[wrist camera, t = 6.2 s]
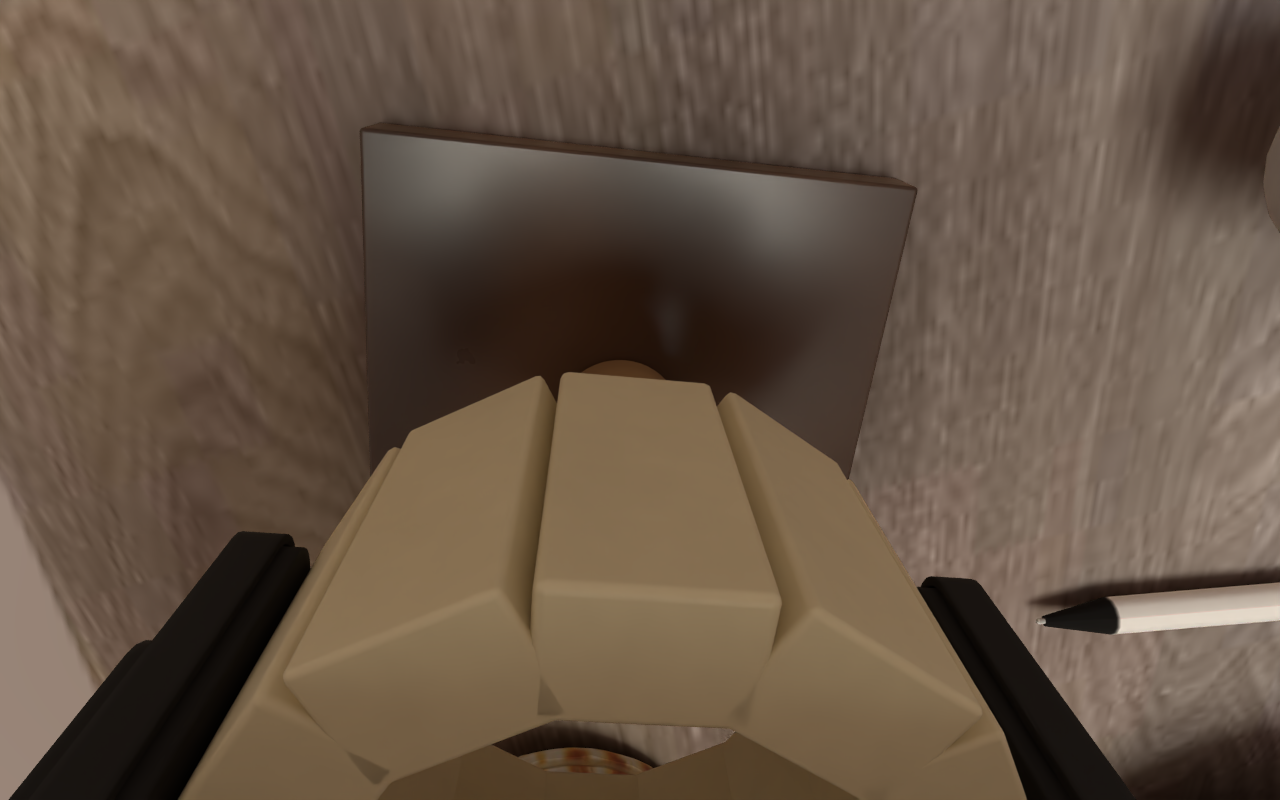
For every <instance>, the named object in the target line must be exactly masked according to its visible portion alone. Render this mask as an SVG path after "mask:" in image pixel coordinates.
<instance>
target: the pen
mask: <svg viewBox="0 0 1280 800" xmlns="http://www.w3.org/2000/svg"><path fill="white" fill-rule="evenodd" d="M1279 620H1280V583H1268V584H1256V585H1244V586H1232V587H1220V588H1208V589H1196V590H1184V591H1172V592H1160V593H1148V594H1136V595H1124V596H1112V597H1103V598H1100V599H1097V600H1094V601H1090V602H1087V603H1084V604H1080V605H1077V606H1074V607H1071V608H1067V609H1064V610H1061V611H1058V612H1054V613H1051V614H1048V615H1045V616H1042V618H1040V619H1037V620H1036V623H1037V624H1043V625H1044V626H1047V627H1055V628H1063V629H1071V630H1079V631H1087V632H1095V633H1103V634H1123V633H1135V632H1147V631H1159V630H1171V629H1183V628H1195V627H1207V626H1219V625H1231V624H1243V623H1255V622H1267V621H1279Z"/></svg>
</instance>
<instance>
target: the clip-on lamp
mask: <svg viewBox="0 0 1280 800" xmlns="http://www.w3.org/2000/svg"><path fill="white" fill-rule="evenodd" d="M1263 188H1264V193H1265V198H1266V203H1267V208H1268V213H1269V215H1270V218H1271V219H1272V221H1273V223H1274V224H1275V226H1276V228H1277V229H1278V231H1279V232H1280V126H1279V128H1278V130H1277V133H1276V135H1275V137H1274V140H1273V142H1272V144H1271V147H1270V149H1269V151H1268V154H1267V158H1266V166H1265V174H1264V181H1263Z"/></svg>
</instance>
